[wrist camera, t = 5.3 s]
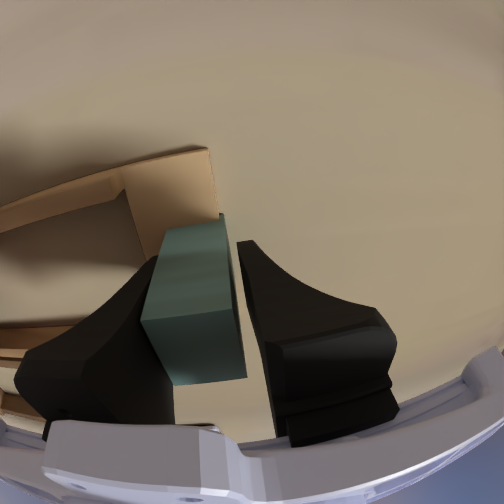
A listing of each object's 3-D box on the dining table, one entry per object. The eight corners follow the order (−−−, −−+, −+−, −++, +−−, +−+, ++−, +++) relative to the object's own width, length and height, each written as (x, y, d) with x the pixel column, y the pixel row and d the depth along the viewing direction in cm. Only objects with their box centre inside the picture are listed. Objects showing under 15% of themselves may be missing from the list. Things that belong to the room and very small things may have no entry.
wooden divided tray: (242, 317, 15) (256, 416, 10) (-8, 336, 14) (-37, 394, 9) (213, 146, 11) (209, 194, 5) (-61, 237, 10) (-110, 287, 5)
